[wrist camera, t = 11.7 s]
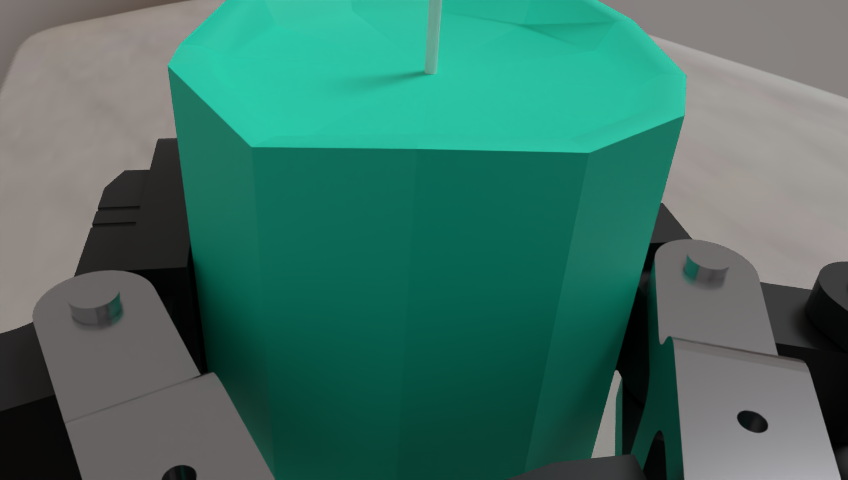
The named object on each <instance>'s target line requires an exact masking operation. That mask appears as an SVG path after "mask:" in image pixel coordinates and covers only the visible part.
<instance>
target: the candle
mask: <svg viewBox="0 0 848 480" xmlns="http://www.w3.org/2000/svg"><path fill="white" fill-rule="evenodd" d="M168 72H169V80H170V87H171V95H172V103H173V110H174V118H175V126H176V133H177V141H178V149H179V156H180V164H181V172H182V179H183V187H184V195H185V202H186V210H187V218H188V225H189V233H190V241H191V248H192V256H193V264H194V271H195V279H196V287H197V294H198V302H199V310H200V317H201V325H202V333H203V340H204V348H205V356H206V363H207V371H208V372H210V371H212V372H214V373H215V374H216V376H217V377H218V378H219V380H220V381H221V383H222V385H223V387H224V388H225V390H226V392H227V394H228V396H229V397H230V399H231V401H232V403H233V405H234V406H235V408H236V410H237V412H238V414H239V415H240V417H241V419H242V421H243V423H244V424H245V426H246V428H247V430H248V432H249V433H250V435H251V437H252V439H253V441H254V442H255V444H256V446H257V448H258V450H259V451H260V453H261V455H262V457H263V459H264V460H265V462H266V464H267V466H268V468H269V469H270V471H271V473H272V475H273V477H274V478H275V480H506V479H509V478H512V477H515V476H517V475H520V474H523V473H526V472H529V471H531V470H534V469H537V468H540V467H543V466H545V465H548V464H551V463H554V462H563V461H572V460H582V459H591V456H592V452H593V448H594V445H595V441H596V438H597V434H598V430H599V427H600V423H601V419H602V416H603V412H604V408H605V405H606V401H607V397H608V394H609V390H610V386H611V383H612V379H613V375H614V372H615V368H616V364H617V361H618V357H619V353H620V350H621V346H622V342H623V339H624V335H625V331H626V328H627V324H628V320H629V317H630V313H631V309H632V306H633V302H634V298H635V295H636V291H637V288H638V284H639V280H640V277H641V273H642V269H643V266H644V262H645V258H646V255H647V251H648V247H649V244H650V240H651V236H652V233H653V229H654V225H655V222H656V218H657V214H658V211H659V207H660V203H661V200H662V196H663V192H664V189H665V185H666V181H667V178H668V174H669V170H670V167H671V163H672V159H673V156H674V152H675V148H676V145H677V141H678V138H679V134H680V130H681V127H682V123H683V119H684V116H685V96H686V75H685V74H684V73H683V71H682V70H681V69H680V68H679V67H678V66H677V65H676V64H675V63H674V62H673V61H672V60H671V59H670V58H669V57H668V56H667V55H666V54H665V53H664V52H663V51H662V50H661V49H660V48H659V47H658V46H657V45H656V43H655V42H654V41H653V40H652V39H651V38H650V37H649V36H648V35H647V34H646V33H645V32H644V31H643V30H642V29H641V28H640V27H639V26H638V25H637V24H636V23H635V22H634V21H633V20H632V19H630V18H628V17H626V16H625V15H623V14H621V13H619V12H617V11H616V10H614V9H612V8H610V7H608V6H607V5H605V4H603V3H601V2H599V1H597V0H226V1H225V2H224V3H223V4H222V5H221V6H220V7H219V8H218V9H217V10H216V11H214V12H213V13H212V14H211V15H210V16H209V17H208V18H207V19H206V20H205V21H204V22H203V23H202V24H201V25H200V26H199V27H198V28H197V29H196V30H195V31H193V32H192V33H191V34H190V35H189V36H188V37H187V38H186V39H185V40H184V41H183V42H182V43H181V44H180V45H179V47H178V49H177V50H176V52H175V54H174V56H173V57H172V59H171V61H170V63H169V64H168Z"/></svg>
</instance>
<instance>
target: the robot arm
mask: <svg viewBox="0 0 848 480" xmlns="http://www.w3.org/2000/svg"><path fill="white" fill-rule="evenodd" d="M92 225H93V228H91V229H90V232H89V235H88V238H87V241H86V243H85V246H84V249H83V252H82V255H81V258H80V261H79V264H78V267H77V270H76V272H75V275H74V277H73V278H70V279H68V280H65V281H63V282H61V283H60V284H58V285H56V286H54V287H53V288H52V289H50V290H49V291H47V292H46V293H45V294H44V295H43V296H42V297H41V298H40V300H39V301H38V302H37V304H36V306H35V308H34V310H33V322H31V323H29V324H27V325H25V326H22V327H20V328H17V329H14V330H11V331H8V332H4V333H1V334H0V480H275V478H274V477H273V475H272V473H271V471H270V469H269V468H268V466H267V464H266V462H265V460H264V459H263V457H262V455H261V453H260V451H259V450H258V448H257V446H256V444H255V442H254V441H253V439H252V437H251V435H250V433H249V432H248V430H247V428H246V426H245V424H244V423H243V421H242V419H241V417H240V415H239V414H238V412H237V410H236V408H235V406H234V405H233V403H232V401H231V399H230V397H229V396H228V394H227V392H226V390H225V388H224V387H223V385H222V383H221V381H220V380H219V378H218V377H217V376H216V374H215V373H214V372H212V371H210V372H208V371H207V363H206V356H205V348H204V340H203V333H202V325H201V317H200V310H199V302H198V294H197V287H196V279H195V271H194V264H193V256H192V248H191V241H190V233H189V225H188V218H187V210H186V202H185V195H184V187H183V179H182V172H181V164H180V156H179V149H178V141H177V138H166V139H158V141H157V144H156V148H155V152H154V156H153V160H152V164H151V167H150V170H127V171H124V172H122V173H121V174H120V175H119V176H118V177H117V178H116V179H114V180H113V181H112V182H111V183H110V184H109V185H108V186H106V187H105V188H104V191H103V194H102V197H101V200H100V203H99V206H98V211H97V212H96V214H95V217H94V220H93V223H92ZM615 370H618V371H619V373H620V375H621V377H622V378H621V381H620V385H619V389H618V392H617V396H616V427H615V456H610V457H601V458H591V459H582V460H572V461H563V462H554V463H551V464H548V465H545V466H543V467H540V468H537V469H534V470H531V471H529V472H526V473H523V474H520V475H517V476H515V477H512V478H509V479H506V480H848V262H835V263H831V264H828V265H826V266H825V267H823V268H822V269H821V270H820V273H819V275H818V277H817V280H816V282H815V284H814V287H813V289H812V290H809V289H802V288H796V287H789V286H782V285H775V284H768V283H763V282H760V281H759V277H758V274H757V271H756V270H755V268H754V267H753V265H752V264H751V263H750V262H749V261H748V260H746V259H745V258H744V257H743V256H741V255H739V254H738V253H736V252H735V251H732V250H730V249H728V248H726V247H724V246H721V245H718V244H715V243H711V242H707V241H702V240H693V239H692V238H691V237H690V236H689V235H688V233H687V232H686V231H685V230H684V228H683V227H682V226H681V225H680V224H679V222H678V221H677V220H676V219H675V217H674V216H673V215H672V214H671V213H670V211H669V210H668V209H667V208H666V207H665V205H664V204H663V203H660V207H659V211H658V214H657V218H656V222H655V225H654V229H653V233H652V236H651V240H650V244H649V247H648V251H647V255H646V258H645V262H644V266H643V269H642V273H641V277H640V280H639V284H638V288H637V291H636V295H635V298H634V302H633V306H632V309H631V313H630V317H629V320H628V324H627V328H626V331H625V335H624V339H623V342H622V346H621V350H620V353H619V357H618V361H617V364H616V368H615Z"/></svg>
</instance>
